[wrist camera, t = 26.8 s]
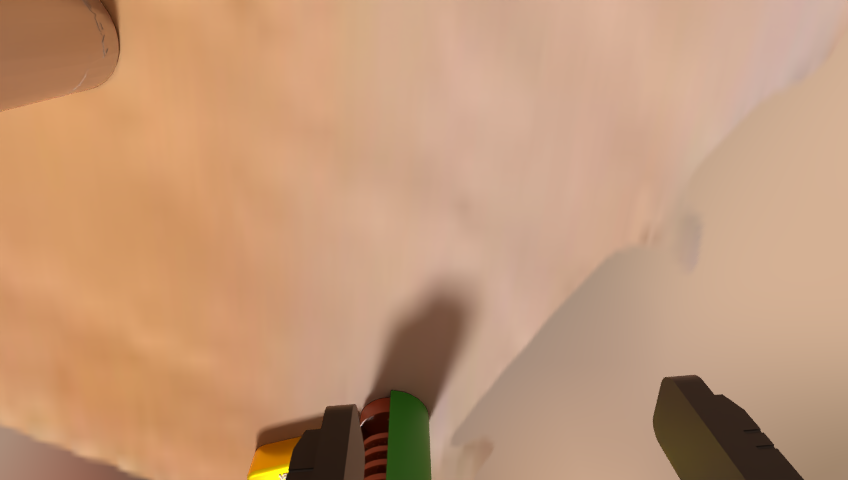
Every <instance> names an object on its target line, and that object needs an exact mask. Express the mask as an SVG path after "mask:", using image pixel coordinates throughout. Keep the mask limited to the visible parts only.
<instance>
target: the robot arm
mask: <svg viewBox="0 0 848 480" xmlns="http://www.w3.org/2000/svg"><path fill="white" fill-rule="evenodd" d="M118 55H119V45H118V37H117V33H116V29H115V26H114V24H113V22H112V20H111V17H110V15H109V13H108V12H107V10H106V9H105V7H104V6H103V4H102V3H101V1H100V0H0V112H1V111H5V110H9V109H13V108H17V107H21V106H25V105H29V104H33V103H37V102H41V101H45V100H49V99H52V98H57V97H61V96H65V95H69V94H73V93H77V92H81V91H85V90H88V89H92V88H95V87H98V86H99V85H101V84H102V83H104V82H105V81H106V80H107V79H108V78H109V77H110V76H111V75H112V73H113V71H114V69H115V67H116V65H117V60H118ZM653 427H654V431H655V435H656V438H657V440H658V442H659V444H660V446H661V447H662V449H663V451H664V453H665V454H666V456H667V457H668V459H669V461H670V463H671V464H672V466H673V468H674V469H675V471H676V473H677V475H678V476H679V478H680V479H681V480H804V479H803V478H802V477H801V476H800V475H799V474H798V472H797V471H796V470H795V469H794V468H793V466H792V465H791V464H790V463H789V462H788V461H787V459H786V458H785V457H784V456H783V455H782V454H781V453H780V452H779V450H778V449H775V448H774V444H773V443H772V442H771V441H770V439H769V438H768V437H767V436H766V435H765V434H764V433H762V432H761V431H760V428H759V427H758V425H757V424H756V423H755V422H754V421H753V420H752V418H751V417H750V416H749V415H748V414H747V413H746V411H745V410H744V409H742V408H741V407H739V406H738V405H737V404H735V403H734V402H732V401H731V400H730V399H728V398H726V397H725V396H724V395H714V394H713V392H712V391H711V390H710V389H709V388H708V386H707V385H706V384H705V383H704V381H703V380H702V379H701V378H700V377H698V376H696V375H687V376H676V377H665V378H664V379H663V380H662V382H661V386H660V391H659V395H658V399H657V404H656V407H655V412H654V416H653ZM364 469H365V451H364V442H363V437H362V432H361V426H360V421H359V416H358V411H357V407H356V405H355V404H351V405H339V406H328V407H326V409H325V413H324V418H323V423H322V428H321V429H315V430H306V431H305V432H304V434H303V435H302V437H301V438H300V440H299V441H298V443H297V444H296V446H295V447H294V449H293V452H292V456H291V460H290V464H289V468H288V474H287V476H286V480H364Z"/></svg>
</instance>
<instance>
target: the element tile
mask: <svg viewBox="0 0 848 480" xmlns="http://www.w3.org/2000/svg"><path fill="white" fill-rule="evenodd" d="M301 437H302V436H301ZM301 437H296V438H292V439H288V440H284V441H279V442H275V443H271V444H267V445H263V446H261V447H259V448H258V449H257V450H256V452H255V455H254V458H253V461H252V463H251V466H250V469H249V472H248V475H247V480H286V476H287V474H288V468H289V464H290V460H291V456H292V452H293V449H294V447H295V446H296V444H297V443H298V441H299V440H300V438H301Z"/></svg>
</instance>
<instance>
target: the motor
mask: <svg viewBox="0 0 848 480" xmlns="http://www.w3.org/2000/svg"><path fill="white" fill-rule="evenodd" d="M388 419H389V420H388ZM360 426H361V432H362V437H363V442H364V451H365V469H364V480H431V459H430V436H429V415H428V411H427V409H426V407H425V406H424V404H423V403H422V402H421V401H420V400H419V399H417V398H416V397H414V396H412V395H410V394H408V393H405V392H400V391H393V390H391V394H390V398H381V399H377V400H375V401H373V402H371V403H369V404H368V405H367V406H366V407H365V408H364V409H363V411H362V413H361V417H360Z"/></svg>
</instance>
